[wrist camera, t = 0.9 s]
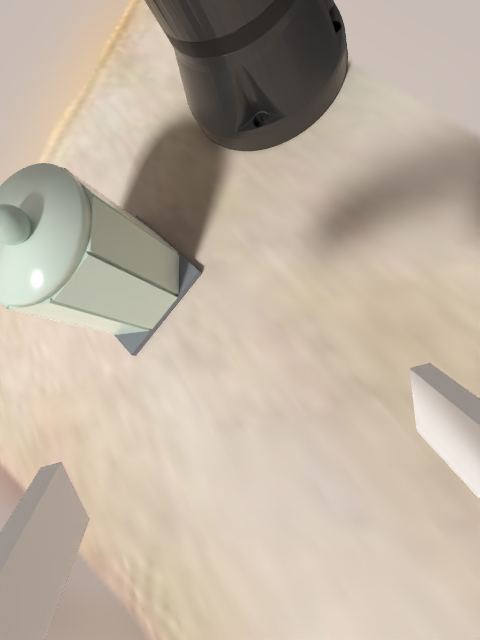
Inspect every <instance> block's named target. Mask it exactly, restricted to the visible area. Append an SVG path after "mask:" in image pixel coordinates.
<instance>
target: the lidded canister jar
mask: <svg viewBox="0 0 480 640" xmlns="http://www.w3.org/2000/svg"><path fill="white" fill-rule="evenodd" d="M177 253H178V252H177V251H176V250H175V249H173V248H172V247H171V246H170V245H169V244H168V243H167V242H166V241H164V240H163V239H162V238H161V237H160V236H159V235H158V234H156V233H155V232H154V231H153V230H151V229H150V228H149V227H147V226H146V225H144V224H143V223H142V222H140V221H139V220H137V219H136V218H135V217H133V216H132V215H130V214H129V213H128V212H126V211H125V210H123V209H122V208H121V207H119V206H118V205H116V204H115V203H114V202H112V201H111V200H109V199H108V198H106V197H105V196H104V195H102V194H101V193H99V192H98V191H97V190H95V189H94V188H92V187H91V186H90V185H88V184H87V183H85V182H84V181H83V180H81V179H80V178H78V177H77V176H76V175H74V174H73V173H71V172H70V171H69V170H67V169H66V168H64V169H63V168H62V167H58V166H56V165H53V164H47V163H41V164H35V165H31V166H28V167H26V168H23V169H21V170H20V171H18V172H16V173H15V174H13V175H12V176H11V177H10V178H8V179H7V180H6V181H5V182H4V183H3V184H2V185H1V186H0V303H2V304H3V305H4V307H5V308H6V309H9V310H12V311H16V312H20V313H24V314H29V315H33V316H37V317H42V318H46V319H50V320H54V321H59V322H63V323H67V324H72V325H76V326H80V327H84V328H89V329H93V330H97V331H102V332H106V333H110V334H114V335H119V334H127V333H136V332H145V331H149V329H153V328H154V326H155V325H156V324H157V323H158V321H159V320H160V319H161V318H162V316H163V315H164V314H165V313H166V311H167V310H168V309H169V308H170V306H171V305H172V304H173V303H174V302H175V300H176V299H177V298H178V297H177V296H176V295H177V294H179V255H178V254H177Z"/></svg>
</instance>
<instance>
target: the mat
mask: <svg viewBox="0 0 480 640" xmlns="http://www.w3.org/2000/svg"><path fill="white" fill-rule="evenodd" d="M135 218H136V219H137V220H139V221H140V222H142V223H143V224H144V225H146V226H147V227H149V226H148V225H147V224H146V223H145V222H144V221H142V220H141V219H140V218H139V217H137V216H136V217H135ZM149 228H150V227H149ZM150 229H151V228H150ZM151 230H153V229H151ZM153 231H154V230H153ZM154 232H155V231H154ZM155 233H156V232H155ZM156 234H157V233H156ZM160 237H161V236H160ZM161 238H162V237H161ZM162 239H163V238H162ZM163 240H164V239H163ZM164 241H165V240H164ZM169 245H170V244H169ZM170 246H171V245H170ZM171 247H172V246H171ZM172 248H173V247H172ZM173 249H174V248H173ZM177 252H178V251H177ZM177 254H178V255H179V294H177V295H176V296H177V297H178V298H177V299H176V300H175V302H174V303H173V304H172V305H171V306H170V308H169V309H168V310H167V311H166V313H165V314H164V315H163V316H162V318H161V319H160V320H159V321H158V323H157V324H156V325H155V326H154V328H153V329H149V331H145V332H136V333H127V334H119V335H115V336H116V337H117V339H118V340H119V341H120V342H121V343H122V344H123V345H124V347H125V348H126V349H127V350H128V351H129V352H130V354H131V355H135V356H136V354H137V353H138V352H139V351H140V349H141V348H142V347H143V346H144V344H145V343H146V342H147V341H148V340H149V338H150V337H151V336H152V335H153V333H154V332H155V331H156V330H157V328H158V327H159V326H160V325H161V323H162V322H163V321H164V320H165V318H166V317H167V316H168V315H169V313H170V312H171V311H172V310H173V309H174V307H175V306H176V305H177V304H178V302H179V301H180V300H181V299H182V297H183V296H184V295H185V294H186V292H187V291H188V290H189V289H190V287H191V286H192V285H193V284H194V282H195V281H196V280H197V279H198V278H199V276H200V275H201V274H202V273H201V272H200V271H199V270H198V269H197V268H196V267H195V266H193V265H192V264H191V263H190V262H189V261H188V260H187V259H186V258H184V257H183V256H182V255H181V254H180V253H179V252H178V253H177Z"/></svg>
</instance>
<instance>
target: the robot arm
mask: <svg viewBox="0 0 480 640" xmlns="http://www.w3.org/2000/svg"><path fill="white" fill-rule="evenodd" d="M145 2H146V3H147V5H148V7H149V8H150V10H151V11H152V13H153V15H154V16H155V18H156V19H157V21H158V23H159V24H160V26H161V27H162V29H163V31H164V32H165V34H166V35H167V37H168V39H169V40H170V42H171V44H172V46H173V47H174V50H175V54H176V58H177V62H178V66H179V70H180V74H181V78H182V82H183V86H184V90H185V94H186V98H187V102H188V105H189V108H190V110H191V112H192V114H193V116H194V117H195V119H196V120H197V122H198V123H199V125H200V126H201V128H202V129H203V131H204V132H205V133H206V135H207V136H208V137H209V138H210V139H212V140H213V141H214V142H216V143H217V144H219V145H221V146H223V147H226V148H228V149H232V150H238V151H256V150H262V149H267V148H270V147H274V146H277V145H279V144H282V143H284V142H286V141H288V140H290V139H292V138H294V137H295V136H297V135H299V134H300V133H302V132H303V131H304V130H306V129H307V128H308V127H310V126H311V125H312V124H313V123H314V122H315V121H316V120H318V119H319V117H320V116H321V115H322V114H323V113H324V112H325V111H326V110H327V108H328V107H329V106H330V104H331V103H332V102H333V100H334V99H335V97H336V95H337V93H338V92H339V89H340V87H341V85H342V83H343V80H344V77H345V73H346V69H347V62H348V52H347V43H346V34H345V27H344V23H343V20H342V17H341V14H340V12H339V10H338V8H337V7H336V5H335V3H334V1H333V0H145ZM410 376H411V385H412V394H413V403H414V412H415V421H416V429H417V432H418V433H419V434H420V435H421V436H422V437H423V438H424V439H425V440H426V441H427V442H428V443H429V445H430V446H431V447H432V448H433V449H434V450H435V451H436V452H437V453H438V454H439V455H440V456H441V458H442V459H443V460H444V461H445V462H446V463H447V464H448V465H449V466H450V467H451V468H452V470H453V471H454V472H455V473H456V474H457V475H458V476H459V477H460V478H461V479H462V480H463V481H464V483H465V484H466V485H467V486H468V487H469V488H470V489H471V490H472V491H473V492H474V493H475V495H476V496H477V497H478V498H479V499H480V399H479V398H478V397H476V396H475V395H474V394H472V393H471V392H469V391H468V390H467V389H465V388H464V387H462V386H461V385H460V384H458V383H457V382H456V381H454V380H453V379H451V378H450V377H449V376H447V375H446V374H444V373H443V372H442V371H440V370H439V369H437V368H436V367H435V366H433V365H432V364H431V363H428V364H424V365H421V366H417V367H413V368H410ZM88 522H89V517H88V515H87V513H86V511H85V509H84V507H83V505H82V503H81V501H80V499H79V497H78V495H77V493H76V491H75V489H74V487H73V485H72V483H71V481H70V479H69V477H68V475H67V472H66V470H65V468H64V466H63V464H62V462H60V463H56V464H52V465H49V466H45V467H41V468H40V470H39V471H38V473H37V475H36V476H35V478H34V479H33V481H32V483H31V484H30V486H29V487H28V489H27V491H26V492H25V494H24V495H23V497H22V499H21V500H20V502H19V504H18V505H17V507H16V508H15V510H14V512H13V513H12V515H11V516H10V518H9V520H8V521H7V523H6V525H5V526H4V528H3V529H2V531H1V532H0V640H45V638H46V636H47V633H48V630H49V627H50V625H51V622H52V620H53V617H54V614H55V611H56V609H57V606H58V603H59V601H60V597H61V595H62V592H63V590H64V587H65V584H66V581H67V579H68V576H69V573H70V571H71V568H72V565H73V562H74V560H75V557H76V554H77V552H78V549H79V546H80V543H81V541H82V538H83V535H84V533H85V530H86V527H87V524H88Z"/></svg>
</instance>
